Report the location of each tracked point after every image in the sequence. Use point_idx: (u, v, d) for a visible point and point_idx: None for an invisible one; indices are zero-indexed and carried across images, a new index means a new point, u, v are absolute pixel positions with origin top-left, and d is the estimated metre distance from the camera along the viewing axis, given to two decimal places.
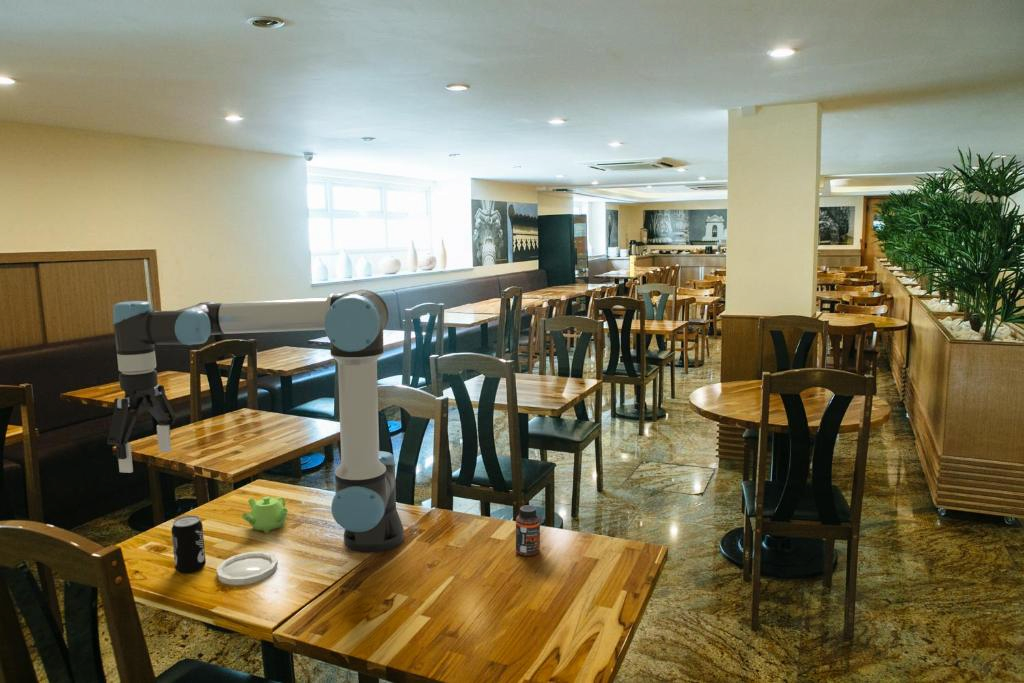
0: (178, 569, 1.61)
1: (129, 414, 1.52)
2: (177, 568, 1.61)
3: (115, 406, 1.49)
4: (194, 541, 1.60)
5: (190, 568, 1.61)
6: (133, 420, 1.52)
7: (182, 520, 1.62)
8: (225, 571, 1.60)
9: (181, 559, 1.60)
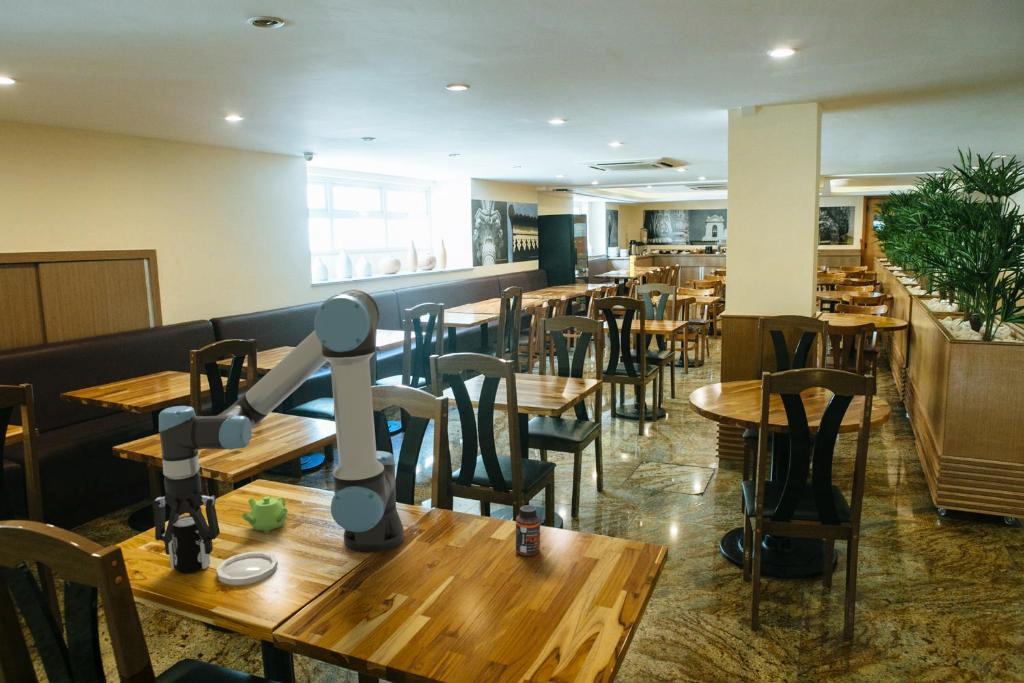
0: (178, 569, 1.61)
1: None
2: (177, 568, 1.61)
3: None
4: (194, 540, 1.60)
5: (190, 568, 1.61)
6: (171, 521, 1.60)
7: (182, 520, 1.62)
8: (225, 571, 1.60)
9: (181, 559, 1.60)
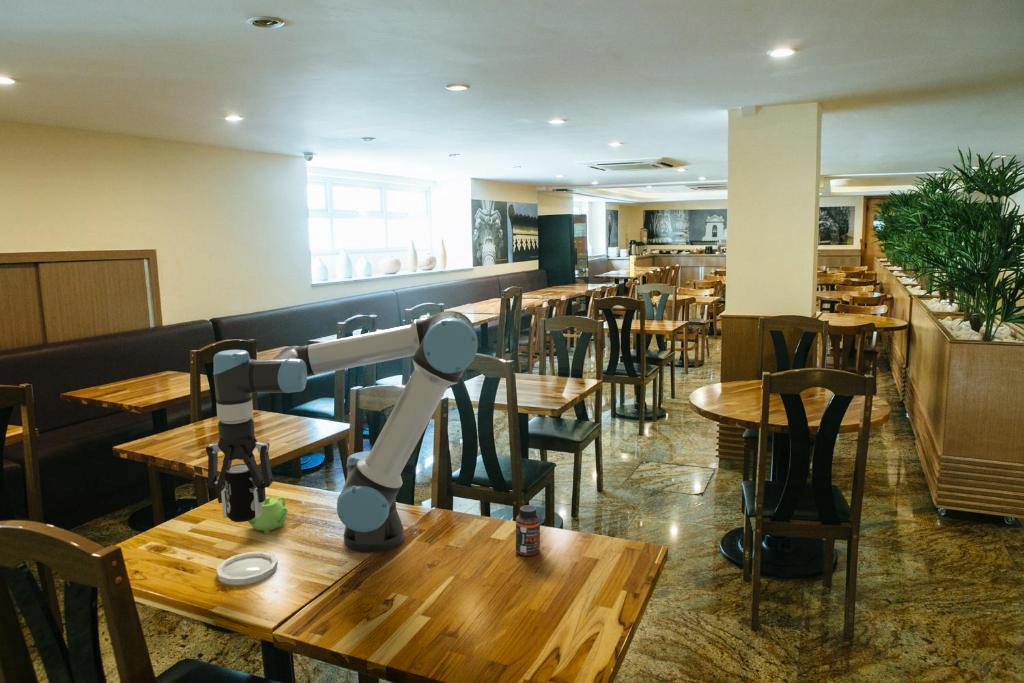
0: (231, 517, 1.57)
1: None
2: (230, 516, 1.57)
3: None
4: (247, 488, 1.56)
5: (244, 516, 1.57)
6: (224, 468, 1.56)
7: (235, 468, 1.58)
8: (225, 571, 1.60)
9: (235, 507, 1.56)
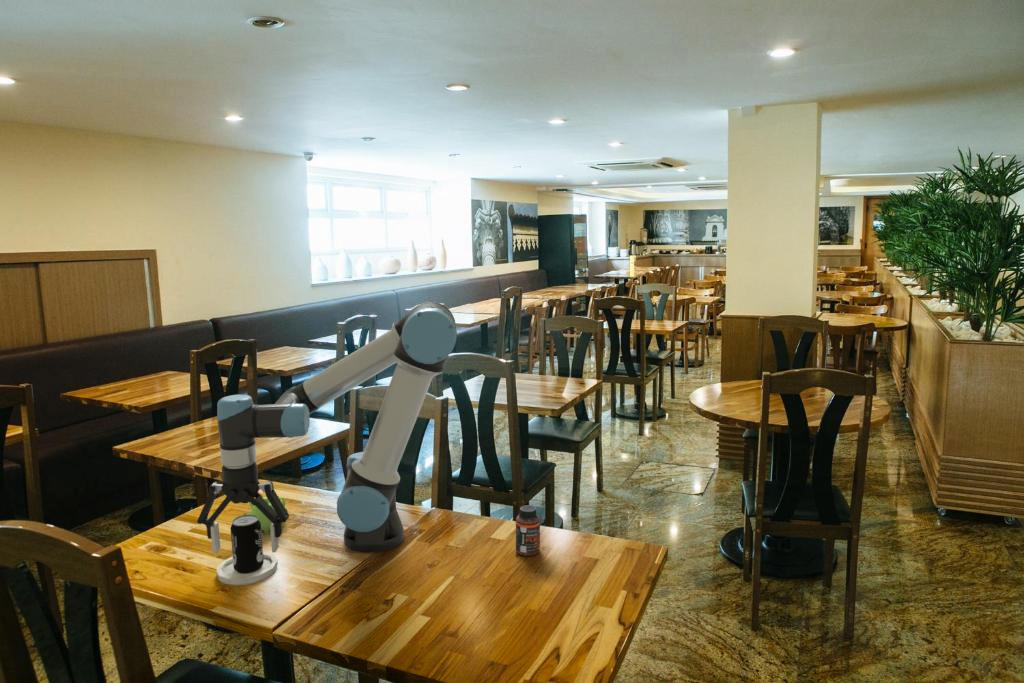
0: (237, 568, 1.59)
1: None
2: (236, 568, 1.59)
3: None
4: (253, 540, 1.58)
5: (249, 568, 1.59)
6: (220, 507, 1.58)
7: (241, 520, 1.61)
8: (225, 571, 1.60)
9: (241, 559, 1.58)
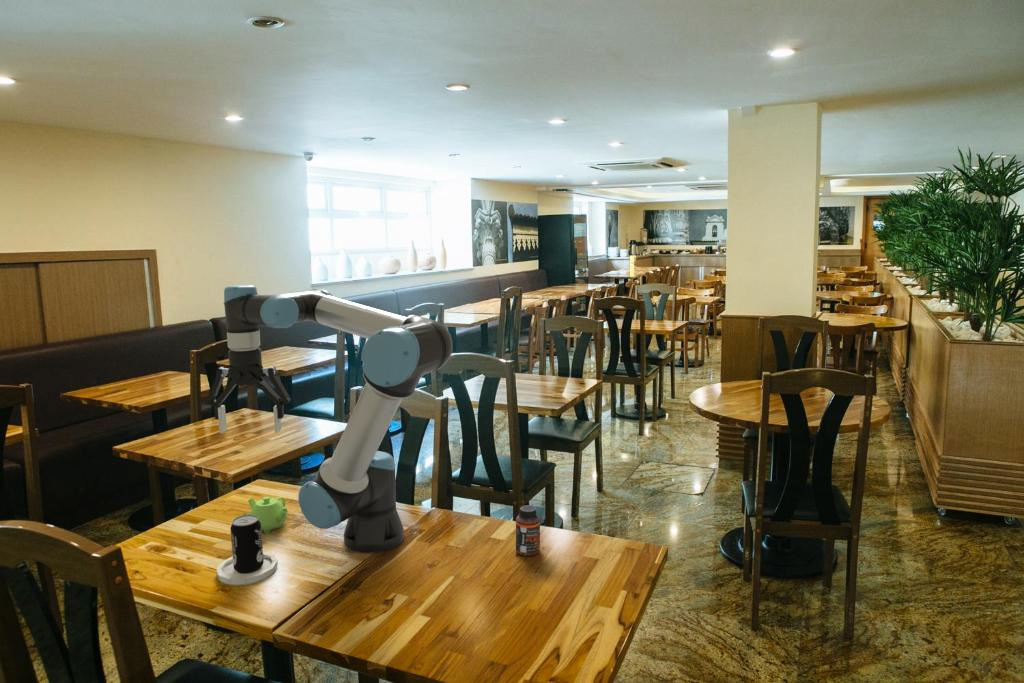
0: (237, 569, 1.59)
1: None
2: (236, 568, 1.59)
3: None
4: (253, 540, 1.58)
5: (249, 568, 1.59)
6: (227, 389, 1.71)
7: (241, 520, 1.61)
8: (225, 571, 1.60)
9: (241, 559, 1.58)
